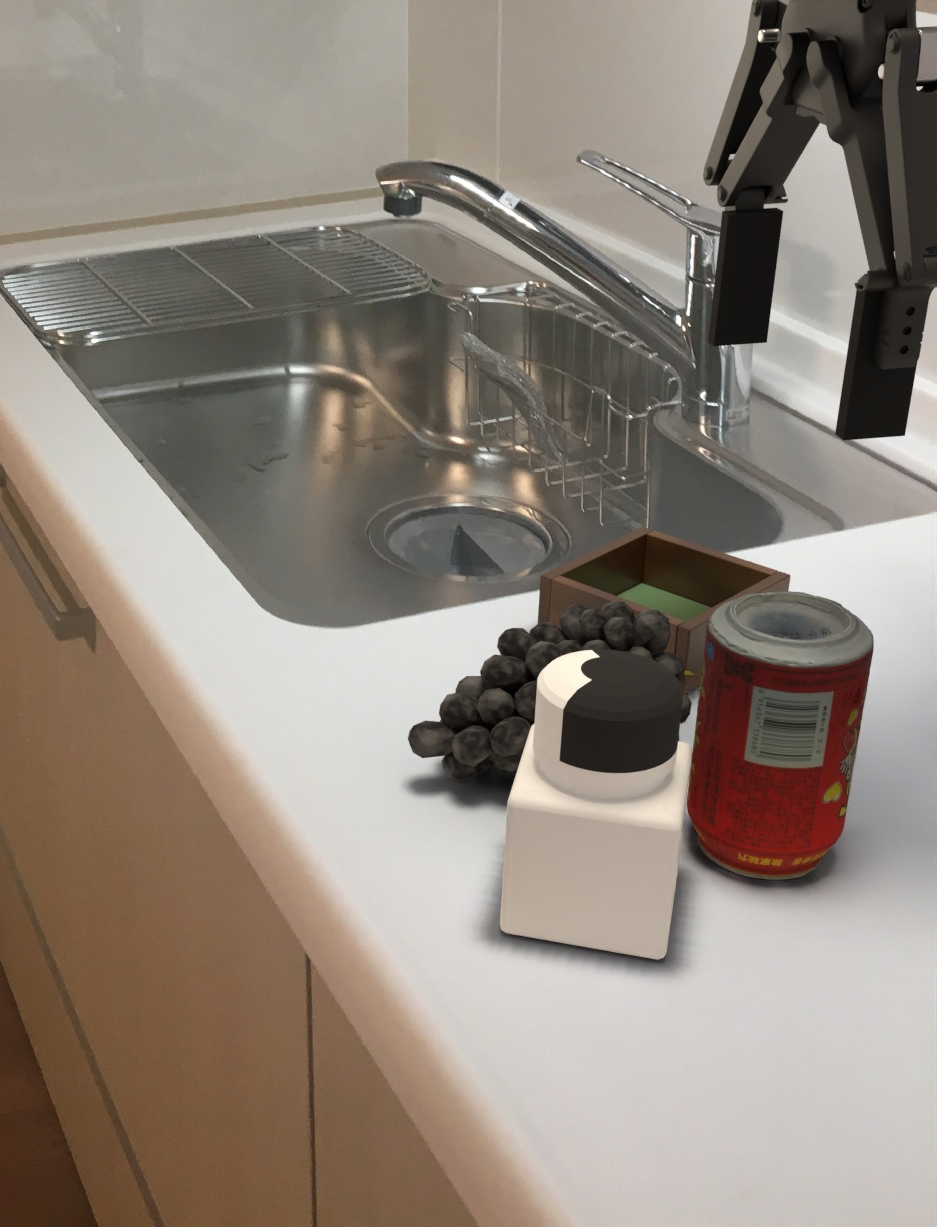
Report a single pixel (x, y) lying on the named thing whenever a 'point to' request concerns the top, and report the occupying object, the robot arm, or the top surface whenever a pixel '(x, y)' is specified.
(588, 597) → the wooden box tray
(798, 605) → the soda can
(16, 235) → the top surface
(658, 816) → the medicine bottle
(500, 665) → the fruit
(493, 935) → the top surface
